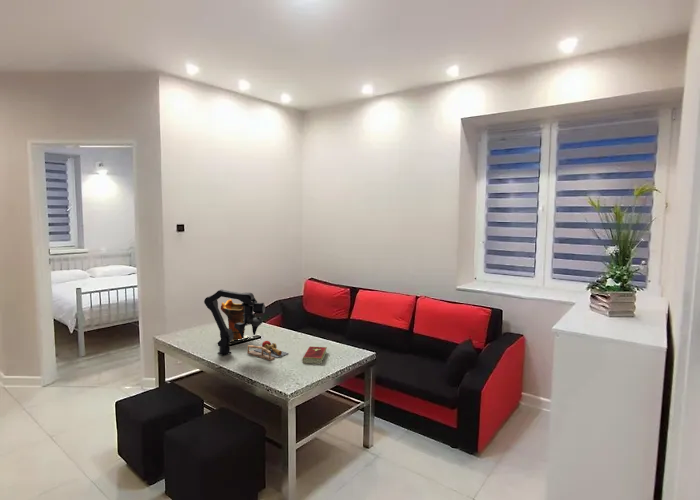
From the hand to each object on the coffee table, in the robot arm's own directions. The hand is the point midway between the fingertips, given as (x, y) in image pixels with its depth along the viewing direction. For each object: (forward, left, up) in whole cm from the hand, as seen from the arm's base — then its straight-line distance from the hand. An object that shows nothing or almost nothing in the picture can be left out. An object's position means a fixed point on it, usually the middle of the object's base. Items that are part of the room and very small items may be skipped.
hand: (248, 336), depth 261 cm
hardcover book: (+37, +23, -13) cm, 45 cm away
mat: (+8, +12, -12) cm, 19 cm away
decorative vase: (-34, +18, -12) cm, 40 cm away
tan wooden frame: (+8, +3, -12) cm, 15 cm away
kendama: (+9, +12, -12) cm, 19 cm away
